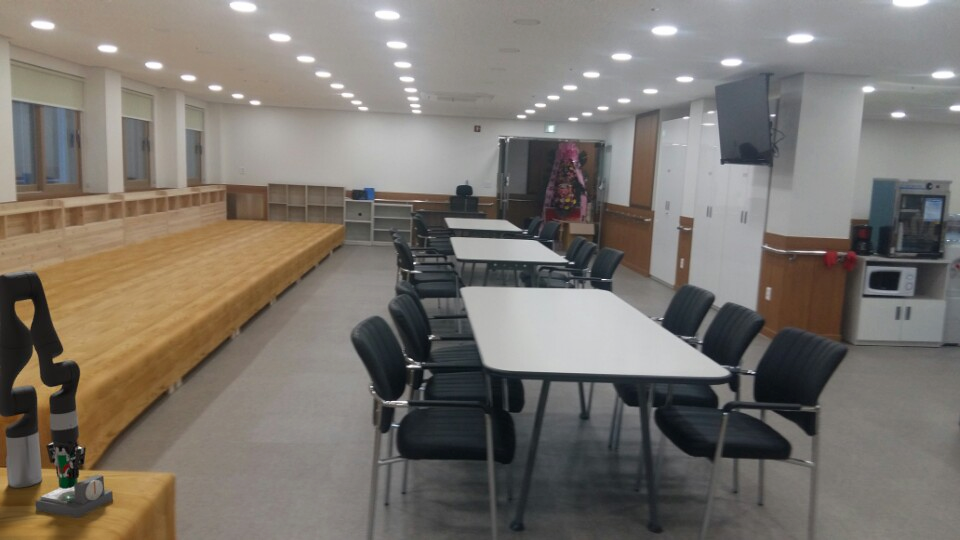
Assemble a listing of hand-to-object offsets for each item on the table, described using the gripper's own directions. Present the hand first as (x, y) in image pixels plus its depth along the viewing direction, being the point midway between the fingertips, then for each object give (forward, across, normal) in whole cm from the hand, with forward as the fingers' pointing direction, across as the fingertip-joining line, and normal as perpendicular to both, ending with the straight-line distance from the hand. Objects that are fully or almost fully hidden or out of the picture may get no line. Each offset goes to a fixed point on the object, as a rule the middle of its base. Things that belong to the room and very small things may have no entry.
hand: (68, 477), depth 218 cm
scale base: (+9, +2, 0) cm, 9 cm away
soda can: (+3, 0, 0) cm, 3 cm away
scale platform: (+6, 0, 0) cm, 6 cm away
